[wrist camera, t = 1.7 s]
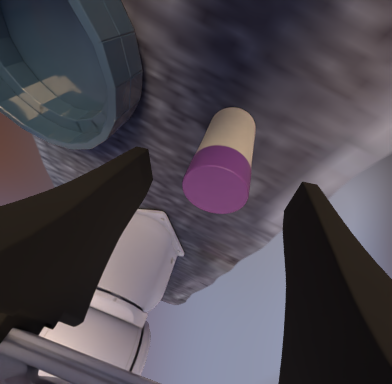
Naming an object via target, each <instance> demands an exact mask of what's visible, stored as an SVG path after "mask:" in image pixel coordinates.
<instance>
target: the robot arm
mask: <svg viewBox="0 0 392 384" xmlns="http://www.w3.org/2000/svg"><path fill="white" fill-rule="evenodd" d="M152 181H153V177H152V170H151V164H150V157H149V151H148V149H146V148H141V147H135V148H133V149H131V150H129V151H127V152H125V153H123V154H122V155H120V156H118V157H116V158H115V159H113V160H111V161H109V162H107V163H105V164H104V165H102V166H100V167H98V168H96V169H94V170H92V171H90V172H88V173H86V174H84V175H82V176H80V177H78V178H76V179H74V180H72V181H69V182H67V183H65V184H63V185H60V186H58V187H55V188H53V189H50V190H48V191H45V192H43V193H39V194H37V195H34V196H31V197H28V198H25V199H22V200H19V201H16V202H13V203H10V204H6V205H3V206H0V384H160V383H158V382H155V381H153V380H150V379H148V378H145V377H142V376H140V375H141V373H142V370H143V368H144V365H145V361H146V358H147V355H148V350H149V346H150V337H151V335H150V329H149V324H148V322H147V321H146V318H147V315H148V313H147V312H149V311H151V310H152V309H153V308H154V307H155V306H156V305H157V304H158V303H159V301H160V300H161V299H162V297H163V294H164V292H165V289H166V286H167V283H168V281H169V278H170V275H171V272H172V269H173V267H174V264H175V261H176V258H177V256H184V251H183V249H182V247H181V245H180V242H179V240H178V238H177V236H176V234H175V232H174V230H173V228H172V226H171V223H170V221H169V219H168V217H167V215H166V213H165V212H163V211H156V210H144V209H138V208H139V206H140V204H141V203H142V201H143V200H144V198H145V196H146V194H147V192H148V190H149V188H150V185H151V183H152ZM283 243H284V257H285V271H286V303H285V322H284V336H283V348H282V359H281V367H280V376H279V384H392V279H391V278H390V277H389V276H388V275H387V274H386V273H385V271H384V270H383V269H382V268H381V267H380V266H379V265H378V264H377V263H376V262H375V260H374V259H373V258H372V257H371V256H370V255H369V253H368V252H367V251H366V250H365V249H364V248H363V246H362V245H361V244H360V242H359V241H358V240H357V239H356V238H355V236H354V235H353V234H352V233H351V231H350V230H349V228H348V227H347V226H346V225H345V223H344V222H343V220H342V219H341V218H340V216H339V215H338V213H337V212H336V211H335V209H334V208H333V206H332V205H331V204H330V202H329V201H328V199H327V198H326V196H325V195H324V193H323V192H322V191H321V189H320V188H319V187H318V185H316V184H311V183H306V182H302V183H301V185H300V186H299V188H298V189H297V191H296V193H295V194H294V196H293V197H292V199H291V201H290V202H289V204H288V205H287V207H286V208H285V210H284V219H283Z"/></svg>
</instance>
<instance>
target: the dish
mask: <svg viewBox="0 0 392 384" xmlns="http://www.w3.org/2000/svg"><path fill="white" fill-rule="evenodd" d="M142 77H143V70H142V64H141V59H140V54H139V49H138V44H137V39H136V34H135V32H134V28H133V26H132V24H131V21H130V19H129V17H128V15H127V13H126V10H125V8H124V6H123V4H122V2H121V0H0V112H1V113H3V114H4V115H5V116H7V117H8V118H9V119H10V120H12V121H13V122H15V123H16V124H17V125H18V126H20V127H21V128H22V129H24V130H26V131H28V132H30V133H31V134H33V135H35V136H37V137H39V138H41V139H42V140H44V141H46V142H49V143H51V144H54V145H57V146H61V147H64V148H68V149H72V150H77V149H92V148H94V147H96V146H97V145H99V144H101V143H102V142H104V141H106V140H107V139H108V138H109V137H110V136H111V135H113V134H114V133H115V132H116V131H117V130H118V129H119V128H120V127H121V126H122V125H123V124H124V123H126V122H127V121H128V120H129V119H130V118H131V116H132V114H133V112H134V111H135V109H136V107H137V105H138V103H139V101H140V99H141V88H142Z"/></svg>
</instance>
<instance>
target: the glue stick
mask: <svg viewBox="0 0 392 384" xmlns="http://www.w3.org/2000/svg"><path fill="white" fill-rule="evenodd" d="M255 130H256V127H255V122H254V120H253V118H252V117H251V115H250V114H249V113H248V112H246V111H245V110H243V109H240V108H235V107H229V108H225V109H222V110H220V111H219V112H218V113H216V114H215V115H214V117H213V118H212V120H211V122H210V124H209V127H208V129H207V131H206V133H205V135H204V137H203V140H202V142H201V144H200V146H199V148H198V150H197V152H196V154H195V155H194V157H193V159H192V161H191V163H190V165H189V167H188V169H187V171H186V174H185V176H184V178H183V181H182V188H183V191H184V194H185V196H186V197H187V198H188V200H189V201H190V202H191V203H192V204H194V205H195V206H196V207H198V208H200V209H202V210H204V211H207V212H211V213H216V214H227V213H232V212H235V211H237V210H239V209H240V208H242V207H243V206H244V205H245V203H246V202H247V200H248V197H249V189H250V180H251V163H252V155H253V147H254V139H255Z"/></svg>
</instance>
